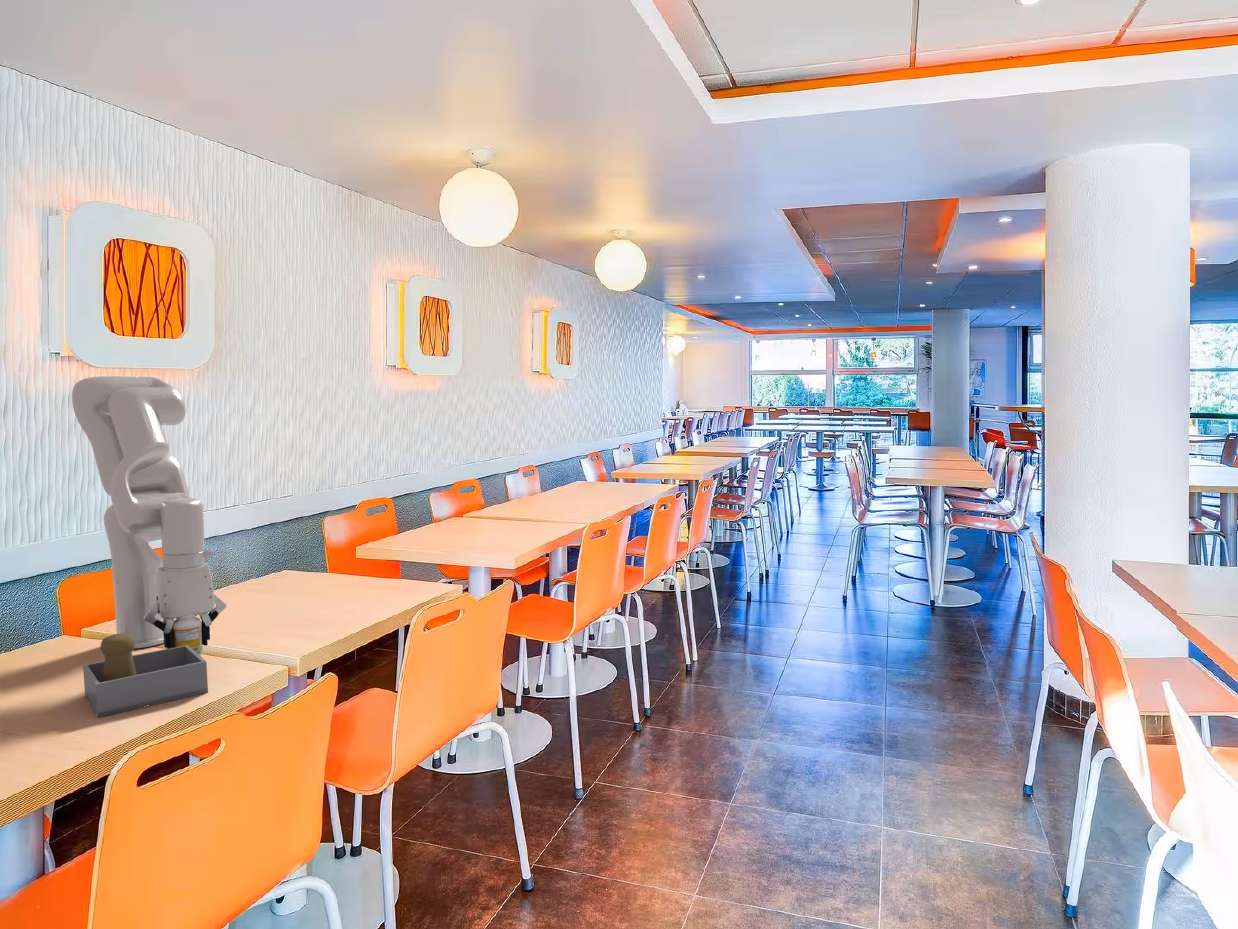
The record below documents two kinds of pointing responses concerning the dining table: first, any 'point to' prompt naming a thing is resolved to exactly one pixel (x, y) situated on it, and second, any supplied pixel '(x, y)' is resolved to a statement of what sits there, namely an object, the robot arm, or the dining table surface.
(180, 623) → the supplement bottle
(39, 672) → the dining table surface
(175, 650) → the tote
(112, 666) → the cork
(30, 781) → the dining table surface
